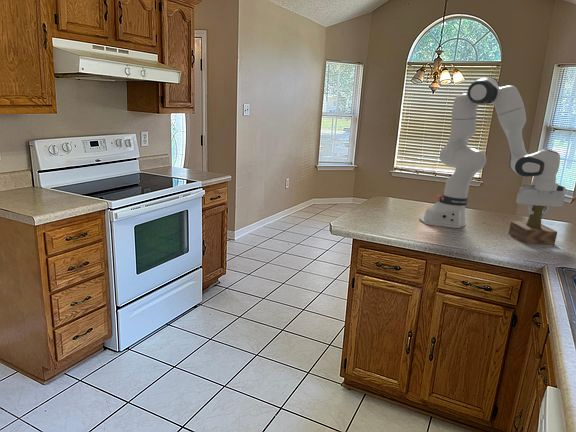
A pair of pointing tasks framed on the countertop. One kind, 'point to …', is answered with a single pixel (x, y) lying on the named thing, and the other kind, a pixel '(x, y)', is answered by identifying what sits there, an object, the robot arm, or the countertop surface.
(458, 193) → the robot arm
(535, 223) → the cork
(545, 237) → the walnut block
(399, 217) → the countertop surface
